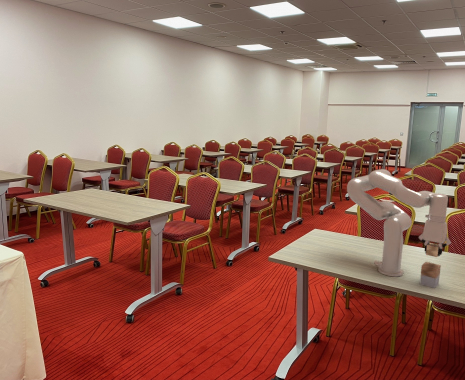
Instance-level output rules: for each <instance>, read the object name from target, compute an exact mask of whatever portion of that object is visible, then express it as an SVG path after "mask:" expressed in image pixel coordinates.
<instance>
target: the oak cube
mask: <svg viewBox="0 0 465 380" xmlns="http://www.w3.org/2000/svg"><path fill="white" fill-rule="evenodd" d="M438 249H439V243H434V242H429V243H428V245H427V251H426V253H425V255H426V256H430V257H435V258H438V257H439V256H438Z"/></svg>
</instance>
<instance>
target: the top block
mask: <svg viewBox="0 0 465 380" xmlns="http://www.w3.org/2000/svg"><path fill="white" fill-rule="evenodd" d="M441 267H442V265H441V264H437V263H434V262H430V261H429V262H428V261H425V262H424V263H423V264H422V265H421V267H420V268H421V269H420V276H421V275H424V276H428V277H431V278H435V279H436V278H437V277H438V276H439V275H441V274H440V273H441Z"/></svg>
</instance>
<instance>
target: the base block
mask: <svg viewBox="0 0 465 380" xmlns="http://www.w3.org/2000/svg"><path fill="white" fill-rule="evenodd" d="M440 275H441V274H440ZM440 275H439V276H438V277H437V278H436V279H435V278H431V277H428V276H424V275H421V274H420V279H419V285H422V286H425V287H430V288H434V289H436V287H437V286H438V285H439V284H440Z"/></svg>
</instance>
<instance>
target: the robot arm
mask: <svg viewBox="0 0 465 380" xmlns="http://www.w3.org/2000/svg"><path fill="white" fill-rule="evenodd" d="M375 188H378V189H381V190H382V191H384V192H387V193H389V194H391V195H393V196H394V197H395V198H396V199H397V200H398V201H400V202H401V203H402V204H403V203H404V204H405V205H408V206H410V207H412V208H416V209H421V208H424V207H428V206H429V208H428V214H425V217H424V218H426V221H425V223H424V227H423V232H422V233H421V234H420V235H419V236H418V239H419V240H420V241H421V242H422V244H424V253H425V254H426V251H427V245H428V244H429V243H435V244H438V245H439V249H438V257H440V256H441V255H443V248H445V247H447V246H449V245H451V244H452V242H451V240H450V239H449V237H448V223H447V222H446V218H447V210H448V209H447V208H448V203H449V197H448V195H447V194H444V193H437V192H432V191H429V190H422V191H418V192H417V191H414V190H412V189H409V188H407V187H406V186H405V185H404V184H403V181H402V180H401V179H400V178H398V177H395V176H393V175H392V174H391V172H390V171H389V170H387V169H385V168H383V169H382V168H380V169H375V170H373V171H371V172H370V173H369V174H367V175H363V176H358V177H354V178H352V179H350V180H349V181H348V183H347V185H346V193H347V195H348V197H349V199H351V201H353V202H354V203H355V204H356V205H357V206H359V207H360V208H361V209H363V210H364V211H365V212H366V213H367V214H368V215H369V216H371V217H372V218H373V219H375V220H377V221H382V220H384V223H383V246H382V247H383V248H382V258H381V260H382V261H379V260H374V265H375V266H376V267H378V270H377V271H378V272H379V273H380V274H381V275H385V276H388V277H396V278H397V277H402V276H404V271H403V270H402V269H401V266H402V258H403V247H404V237H403V235H404V234H403V232H404V231H406V230H408V229H410V228H411V226H412V223H413V222H412V218H411V216H410V215H409V214H408V213H406V212H405V211H404V210H402V209H401V208H400V207H398V206H397V205H396V204H395V203H393V202H391V201H388V200H383V201H379V200H377V199H376V198H375V197H374V196H372V195H371V194H369V193H367V192H368V191H370V190H373V189H375Z"/></svg>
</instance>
